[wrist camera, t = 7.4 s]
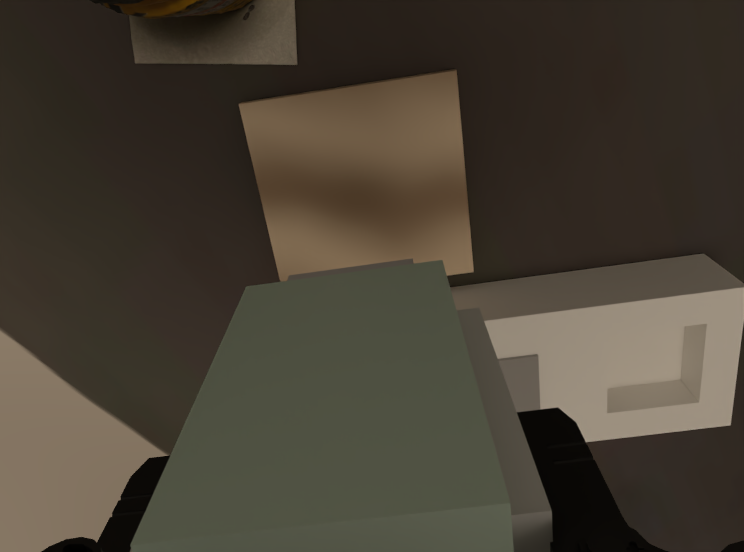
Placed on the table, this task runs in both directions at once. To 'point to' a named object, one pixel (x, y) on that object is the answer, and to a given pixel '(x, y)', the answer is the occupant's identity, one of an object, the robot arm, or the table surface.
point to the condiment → (210, 31)
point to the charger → (336, 426)
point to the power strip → (619, 343)
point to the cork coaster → (363, 174)
